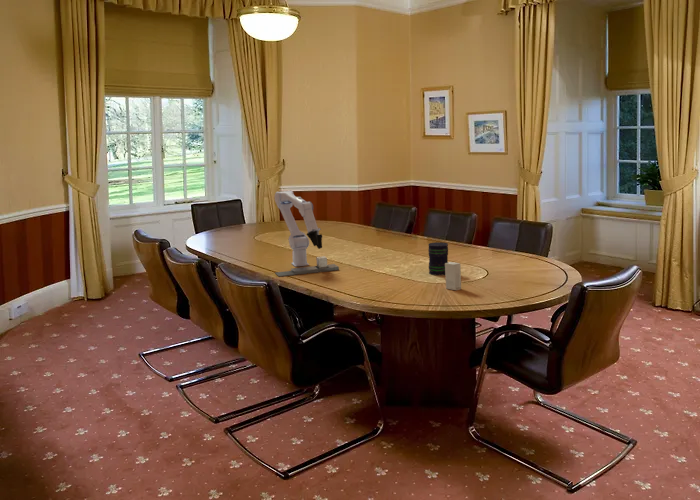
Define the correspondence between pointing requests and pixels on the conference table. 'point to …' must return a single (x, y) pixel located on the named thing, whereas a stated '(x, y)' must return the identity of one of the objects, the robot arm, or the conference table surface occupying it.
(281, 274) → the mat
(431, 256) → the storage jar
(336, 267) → the rail
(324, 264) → the pale grey square block
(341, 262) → the conference table surface
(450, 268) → the skincare box
